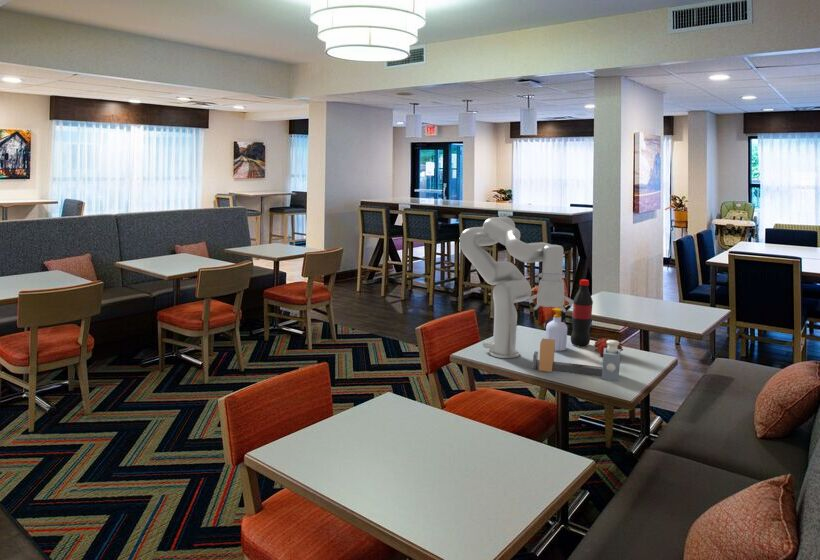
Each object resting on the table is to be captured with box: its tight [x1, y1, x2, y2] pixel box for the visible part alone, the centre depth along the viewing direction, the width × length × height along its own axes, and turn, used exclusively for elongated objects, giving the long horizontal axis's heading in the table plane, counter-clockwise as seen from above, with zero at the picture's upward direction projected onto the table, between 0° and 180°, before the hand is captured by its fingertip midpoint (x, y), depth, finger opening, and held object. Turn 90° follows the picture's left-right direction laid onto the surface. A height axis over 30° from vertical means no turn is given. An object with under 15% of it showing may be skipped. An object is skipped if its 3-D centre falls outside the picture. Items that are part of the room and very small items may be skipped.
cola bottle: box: [570, 279, 594, 348], centre depth 265 cm, size 8×8×30 cm
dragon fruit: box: [593, 337, 624, 356], centre depth 252 cm, size 8×8×12 cm
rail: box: [532, 350, 602, 378], centre depth 231 cm, size 27×5×6 cm, turn 72°
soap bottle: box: [545, 300, 568, 352], centre depth 260 cm, size 9×9×25 cm
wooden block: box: [538, 337, 555, 373], centre depth 233 cm, size 5×7×11 cm
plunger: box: [606, 339, 620, 354], centre depth 225 cm, size 5×5×5 cm
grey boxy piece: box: [601, 348, 621, 382], centre depth 226 cm, size 6×8×10 cm
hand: (549, 320), depth 231 cm, fingers open, 9 cm apart
